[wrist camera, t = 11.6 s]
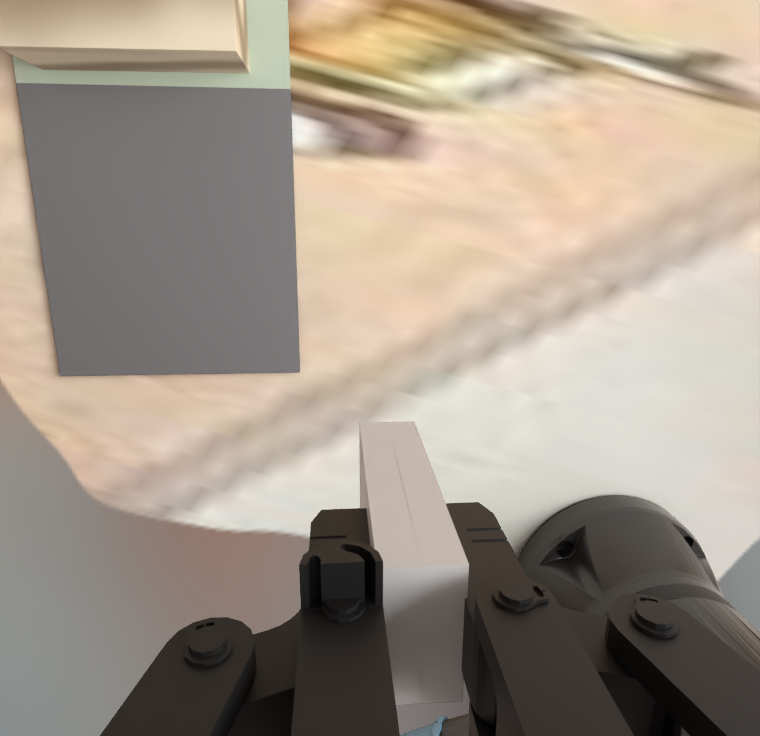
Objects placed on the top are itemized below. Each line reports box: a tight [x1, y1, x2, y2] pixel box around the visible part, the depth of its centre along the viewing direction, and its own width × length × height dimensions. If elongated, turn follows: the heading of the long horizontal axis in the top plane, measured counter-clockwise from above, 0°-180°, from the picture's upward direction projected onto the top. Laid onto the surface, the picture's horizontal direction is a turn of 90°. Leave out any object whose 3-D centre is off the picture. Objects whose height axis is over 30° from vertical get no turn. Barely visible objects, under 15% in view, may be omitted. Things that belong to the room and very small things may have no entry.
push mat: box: [12, 0, 300, 376], centre depth 33 cm, size 35×16×3 cm, turn 0°
